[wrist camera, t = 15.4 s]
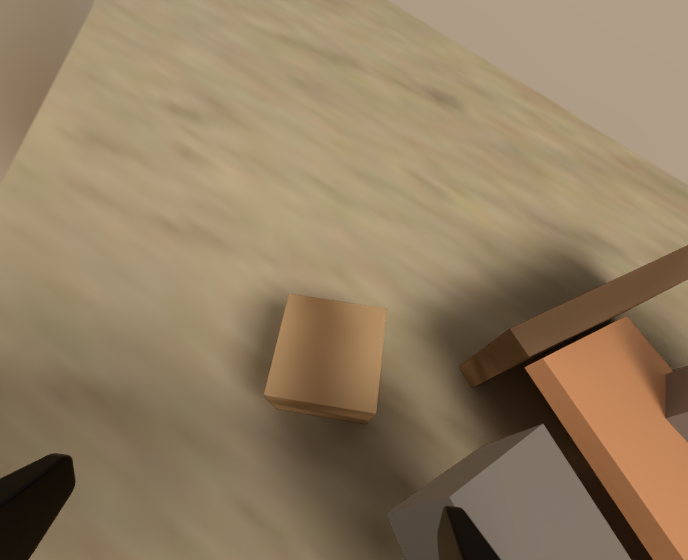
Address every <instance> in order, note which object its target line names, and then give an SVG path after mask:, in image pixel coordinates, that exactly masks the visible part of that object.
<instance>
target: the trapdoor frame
mask: <svg viewBox="0 0 688 560" xmlns="http://www.w3.org/2000/svg"><path fill="white" fill-rule="evenodd" d="M687 279H688V245H687V246H685V247H683V248H681V249H679V250H677V251H674V252H672V253H670V254H668V255H666V256H664V257H662V258H659V259H657V260H655V261H653V262H651V263H649V264H647V265H644V266H642V267H640V268H638V269H636V270H634V271H632V272H630V273H627V274H625V275H623V276H621V277H619V278H617V279H615V280H612V281H610V282H608V283H606V284H604V285H602V286H600V287H598V288H595V289H593V290H591V291H589V292H587V293H585V294H583V295H580V296H578V297H576V298H574V299H572V300H570V301H568V302H565V303H563V304H561V305H559V306H557V307H555V308H553V309H551V310H548V311H546V312H544V313H542V314H540V315H538V316H536V317H533V318H531V319H529V320H527V321H525V322H523V323H521V324H519V325H516V326H514V327H512V328H510V329H509V330H507V331H506V332H505V333H503V334H502V335H501V336H499V337H498V338H497V339H495V340H494V341H493V342H491V343H490V344H489V345H487V346H486V347H485V348H484V349H482V350H481V351H480V352H478V353H477V354H476V355H474V356H473V357H472V358H470V359H469V360H468V361H466V362H465V363H464V364H462V365H461V366H460V369H461V370H462V372H463V374H464V375H465V377H466V379H467V380H468V382H469V384H470V386H471V387H472V388H473V387H475V386H477V385H479V384H481V383H483V382H485V381H487V380H489V379H491V378H493V377H495V376H497V375H499V374H501V373H503V372H505V371H507V370H509V369H511V368H513V367H515V366H517V365H519V364H521V363H523V362H525V361H527V360H529V359H531V358H533V357H535V356H537V355H539V354H541V353H543V352H545V351H547V350H549V349H551V348H553V347H555V346H557V345H559V344H561V343H563V342H565V341H567V340H569V339H571V338H573V337H575V336H577V335H579V334H581V333H583V332H585V331H587V330H589V329H591V328H593V327H595V326H597V325H599V324H601V323H603V322H605V321H607V320H609V319H611V318H613V317H615V316H617V315H619V314H621V313H623V312H625V311H627V310H629V309H631V308H633V307H635V306H637V305H639V304H641V303H643V302H645V301H647V300H649V299H651V298H653V297H655V296H656V295H658V294H660V293H662V292H664V291H666V290H668V289H670V288H672V287H674V286H676V285H678V284H680V283H682V282H683V281H685V280H687Z"/></svg>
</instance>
